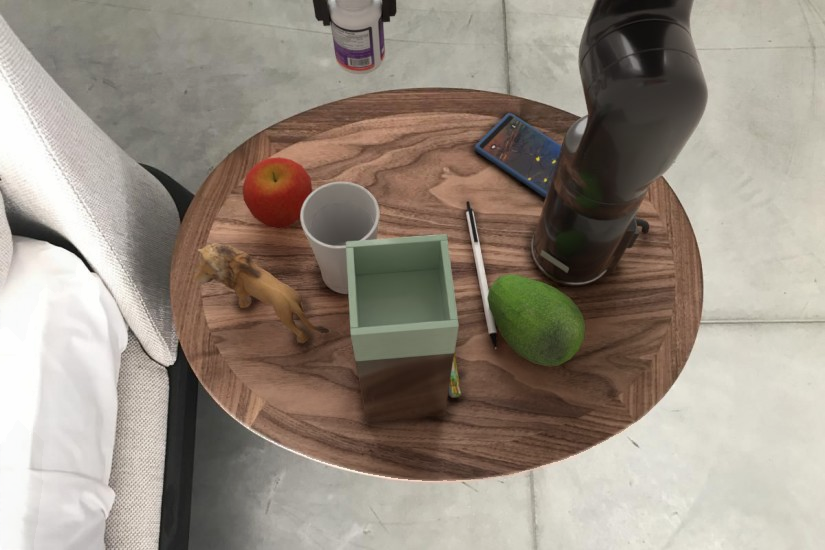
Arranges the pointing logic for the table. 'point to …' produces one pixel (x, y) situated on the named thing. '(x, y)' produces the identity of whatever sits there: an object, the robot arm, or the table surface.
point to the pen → (481, 274)
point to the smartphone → (521, 152)
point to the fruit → (536, 319)
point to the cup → (338, 226)
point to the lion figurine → (253, 285)
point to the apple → (276, 191)
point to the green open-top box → (402, 324)
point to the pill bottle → (358, 34)
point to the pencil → (454, 381)
